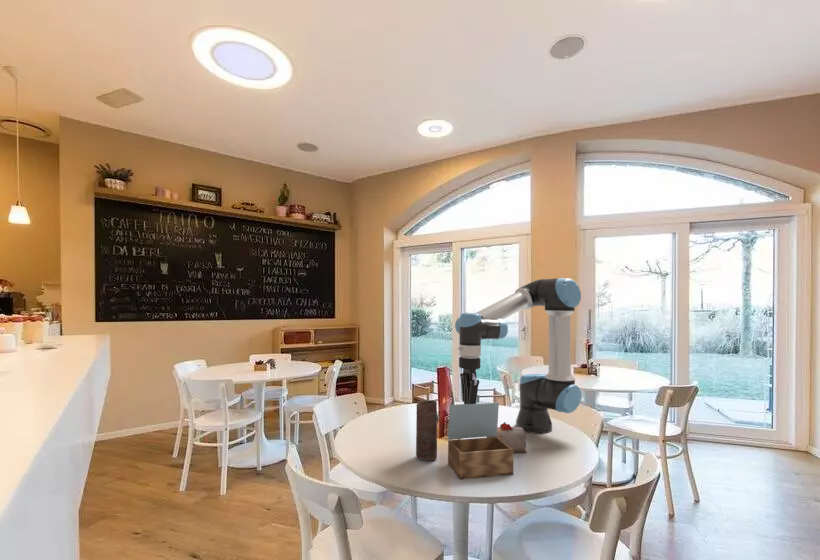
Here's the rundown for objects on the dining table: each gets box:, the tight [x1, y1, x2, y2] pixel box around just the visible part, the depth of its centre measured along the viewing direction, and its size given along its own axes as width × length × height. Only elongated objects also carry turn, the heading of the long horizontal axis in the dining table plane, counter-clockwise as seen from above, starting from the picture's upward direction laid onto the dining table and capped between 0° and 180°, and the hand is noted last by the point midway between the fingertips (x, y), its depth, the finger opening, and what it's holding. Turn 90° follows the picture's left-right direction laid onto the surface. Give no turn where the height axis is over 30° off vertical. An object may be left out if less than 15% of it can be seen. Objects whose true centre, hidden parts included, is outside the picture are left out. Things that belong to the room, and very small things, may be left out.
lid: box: [447, 401, 500, 440], centre depth 142 cm, size 18×12×1 cm
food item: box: [486, 421, 527, 454], centre depth 153 cm, size 14×8×10 cm, turn 92°
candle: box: [415, 399, 438, 461], centre depth 144 cm, size 8×7×20 cm
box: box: [447, 437, 514, 481], centre depth 136 cm, size 18×12×8 cm, turn 103°
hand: (468, 424), depth 145 cm, fingers closed
